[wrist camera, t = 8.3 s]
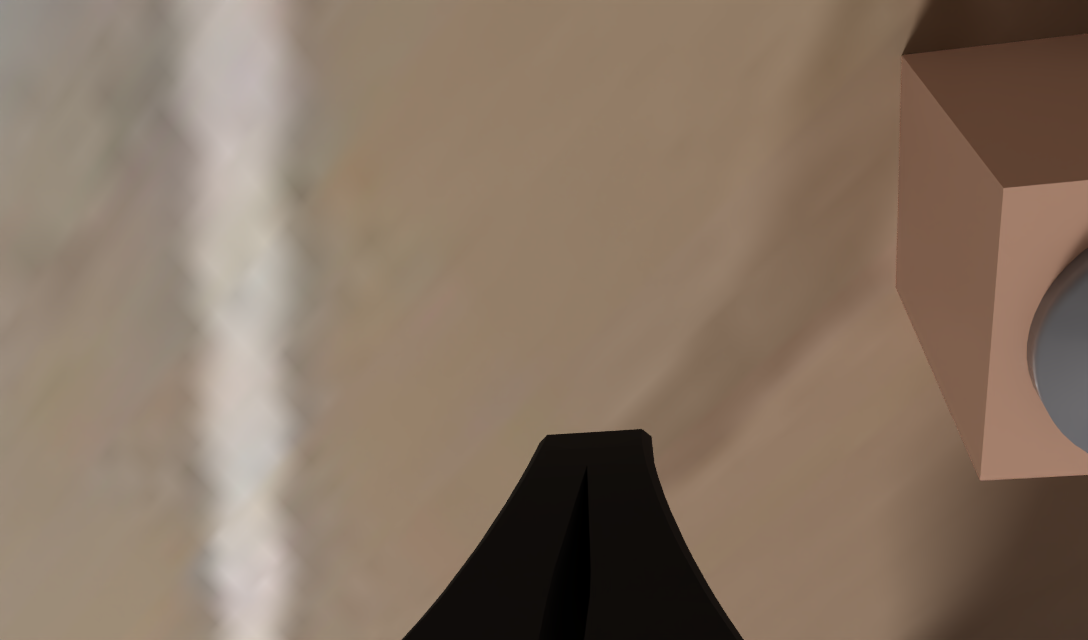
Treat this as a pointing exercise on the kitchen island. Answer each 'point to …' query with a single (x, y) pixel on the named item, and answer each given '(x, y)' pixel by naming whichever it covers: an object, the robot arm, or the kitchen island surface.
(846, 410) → the kitchen island surface
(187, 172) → the kitchen island surface
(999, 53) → the terracotta jar
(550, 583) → the robot arm
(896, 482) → the kitchen island surface
